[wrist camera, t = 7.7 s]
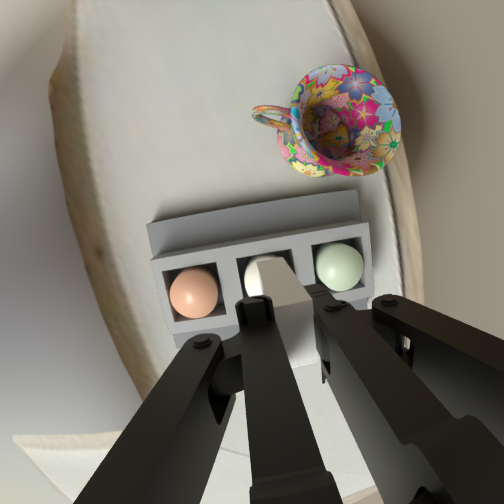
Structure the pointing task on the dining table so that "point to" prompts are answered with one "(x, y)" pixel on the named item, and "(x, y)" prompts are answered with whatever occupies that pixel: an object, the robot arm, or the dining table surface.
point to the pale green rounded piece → (337, 265)
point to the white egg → (255, 273)
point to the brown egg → (195, 291)
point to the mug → (336, 123)
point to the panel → (255, 251)
